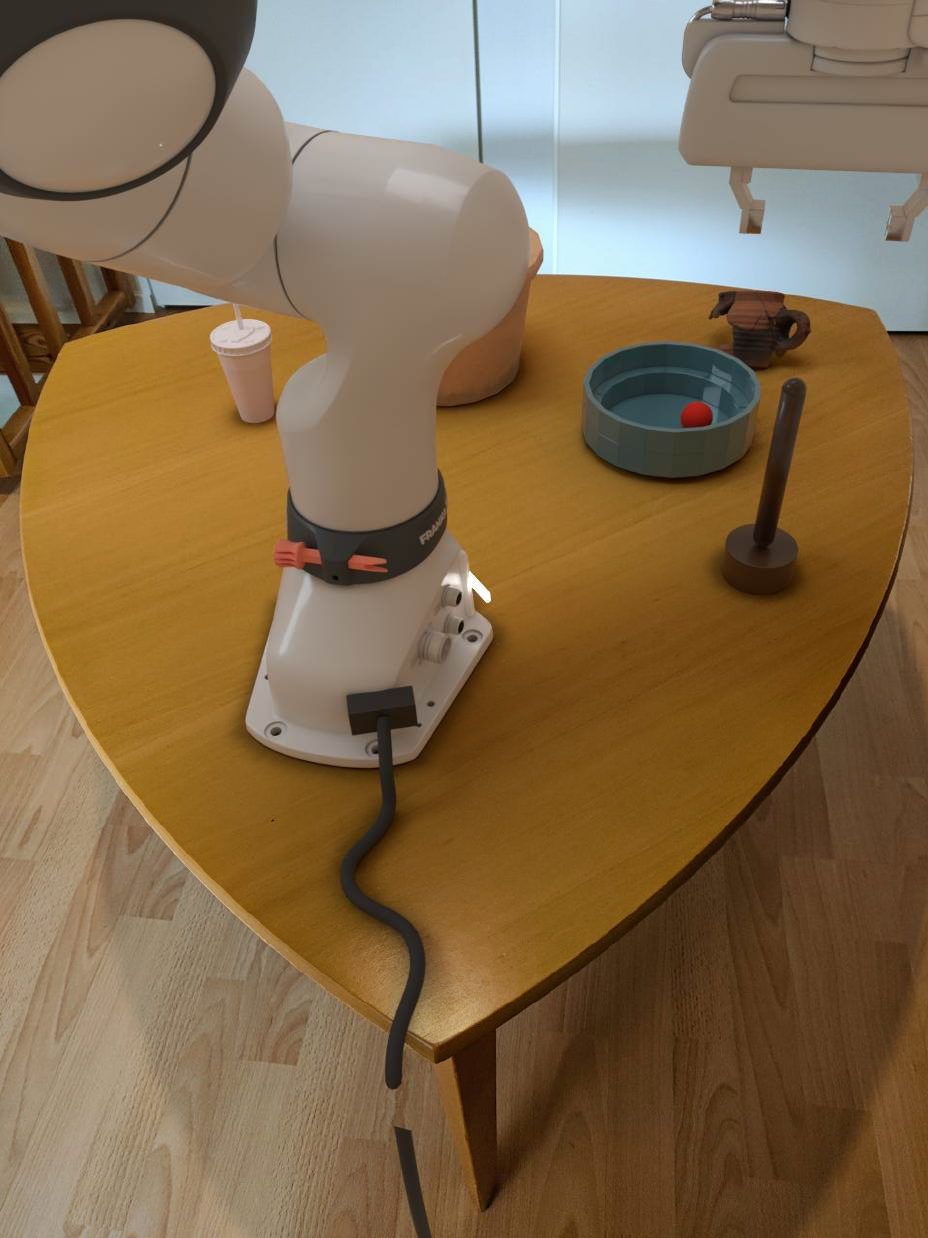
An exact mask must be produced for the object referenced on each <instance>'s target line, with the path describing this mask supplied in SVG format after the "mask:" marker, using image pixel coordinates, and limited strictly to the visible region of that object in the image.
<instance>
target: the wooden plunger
mask: <svg viewBox="0 0 928 1238" xmlns="http://www.w3.org/2000/svg"><path fill="white" fill-rule="evenodd" d="M807 392H808V387H807V383H806V381H804V379H803V378H801V377H797V376H794V377H790V378H788V379H787V380H785V381H784V382H783V384H782V386H781V391H780V396H779V401H778V406H777V411H776V415H775V419H774V420H775V421H774V424H773V431H772V436H771V441H770V446H769V451H768V456H767V461H766V466H765V472H764V476H763V482H762V487H761V490H760V491H761V492H760V497H759V501H758V506H757V507H758V508H757V511H756V512H757V513H756V517H755V521H754V522H755V523H748V524H742V525H739V526H737V527H736V528H734V529H732V530H731V531H730V532H729V533H728V534H727V536H726V539H725V542H724V549H723V555H722V560H721V567H720V569H721V574H722V576H723V578H724V580H725V581H726V582H727V583H728V584H729V585H731V586H732V587H733V588H734V589H737V590H738V591H741V592H743V593H747V594H752V595H758V596H759V595H760V596H761V595H765V596H766V595H772V594H777V593H779V592H781V591H783V590H785V589H786V588H787V587H788V586H789V585H790V584H791V582H792V579H793V575H794V571H795V567H796V564H797V559H798V554H799V546H798V543H797V541H796V539H795V538H794V537H793V536H792V535H791V534H790V533H789V532H788V531H786V530H783V528H780V527H778V524H779V521H780V516H781V511H782V507H783V501H784V497H785V492H786V487H787V484H788V479H789V474H790V470H791V465H792V460H793V456H794V451H795V446H796V442H797V438H798V432H799V428H800V424H801V419H802V414H803V410H804V406H805V401H806V397H807V396H806V395H807Z"/></svg>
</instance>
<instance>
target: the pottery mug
mask: <svg viewBox="0 0 928 1238" xmlns="http://www.w3.org/2000/svg"><path fill="white" fill-rule="evenodd" d="M785 298H786V295H785V294H784V293H783V292H780V291H772V290H756V289H755V290H727V291H721V292H719V293H718V302H717V303H716V304H715V306H714V307H713V308H712V310H711V311H710V314H709V316H708V320H712V319H718V318H719V317H721V316H722V317H723V316H726V322H727V323H728V325H730V326H731V329H732V338H733V342H731V343H723V344H722V343H720V344H718V345H717V349H718V350H720V351H723V352H725V353H727V354H729V355H732V356H734V357H736V358H738V359H740V360H741V361H742V362H743V363H745V364H746V365H747V366H748V367H750V368H760V369H761V368H763V369H764V368H765V369H767V368H769V366H770V362H771V359H772V357H773V354H774V352H775V355H776V357H778V358H782V357H783V356H784V355H785V354H786V353H787V352H788V351H792V350H795V349H798V348H799V347H800V346H801V345H803V344H804V343H805V342H806V340H807V338H808V337H809V335H810V334H811V332H812V329H811V319H810V317H809V316H808V314H807V313H805V312H804V311H802V310H798V309H788V308H787V306H786V305H785ZM795 324H796V330H795V332H794V333H793V335H791V336H790V333H791V330H792V327H793V325H795Z"/></svg>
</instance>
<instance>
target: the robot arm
mask: <svg viewBox="0 0 928 1238" xmlns="http://www.w3.org/2000/svg"><path fill="white" fill-rule="evenodd" d="M258 3H259V2H258V0H0V236H1V237H3V238H7V239H9V240H12V241H14V242H19V243H21V244H23V245H26V246H29V247H32V248H35V249H38V250H41V251H43V252H47V253H51V254H54V255H57V256H61V257H64V258H67V259H72V260H75V261H79V262H82V263H87V264H91V265H95V266H98V267H101V268H105V269H110V270H114V271H118V272H122V273H125V274H129V275H133V276H136V277H140V278H145V279H149V280H152V281H156V282H160V283H164V284H168V285H172V286H174V287H175V286H176V287H179V288H183V289H187V290H189V291H192V292H194V293H197V294H199V295H203V296H206V297H210V298H213V299H215V300H219V301H223V302H226V303H230V304H232V305H233V304H237V305H239V306H241V307H245V308H246V307H248V308H251V309H254V310H255V309H256V310H260V311H265V312H269V313H274V314H278V315H284V316H288V317H292V318H297V319H301V320H306V321H311V322H314V323H316V324H317V325H318V327H319V328H320V330H321V332H322V334H323V337H324V340H325V346H326V347H325V348H326V352H325V353H323V354H321V355H319V356H317V357H315V358H313V359H311V360H310V361H308V362H306V363H305V364H303V365H302V366H301V367H299V368H298V369H297V370H296V371H295V372H294V373H293V374H292V375H291V376H290V377H289V379H288V381H287V382H286V383H285V386H284V387H283V390H282V392H281V394H280V397H279V399H278V402H277V406H276V411H275V423H276V426H277V431H278V437H279V442H280V447H281V452H282V457H283V460H284V462H283V463H284V467H285V472H286V477H287V482H288V490H287V493H286V508H285V527H286V531H287V533H286V534H287V535H286V539H285V538H280V539H278V540H277V541H276V543H275V546H274V548H273V550H274V551H273V563H274V565H275V566H276V567H278V568H282V574H281V579H280V583H279V588H278V593H277V596H276V597H277V598H276V603H275V608H274V613H273V618H272V622H271V626H270V629H269V633H268V636H267V640H266V643H265V646H264V650H263V653H262V657H261V660H260V664H259V667H258V671H257V675H256V679H255V681H254V685H253V689H252V693H251V696H250V700H249V703H248V707H247V711H246V715H245V719H244V720H245V721H244V722H245V729H246V731H247V732H248V734H250V736H252V738H254V739H255V740H256V741H257V742H259V743H260V744H262V745H263V746H265V747H267V748H268V749H271V750H273V751H274V752H276V753H277V752H278V753H280V754H283V755H285V756H289V757H292V758H294V759H297V760H298V759H299V760H302V761H307V762H311V763H316V764H322V765H327V766H334V767H341V768H342V767H343V768H353V769H355V768H357V769H373V768H374V769H375V768H378V770H379V772H378V774H379V781H380V789H381V797H382V800H381V807H380V811H379V814H378V817H377V818H376V820H375V822H374V823H373V825H372V826H371V827H370V828H369V830H368V831H367V832H366V833H365V834H364V835H363V836H362V837H361V838H360V839H359V840H358V841H356V842H355V844H353V845H352V847H351V848H350V849H349V850H348V851H347V853H346V854H345V856H344V857H343V859H342V862H341V865H340V870H339V871H340V872H339V876H340V877H339V878H340V879H339V880H340V885H341V889H342V892H343V893H344V895H345V897H346V898H347V900H348V901H349V902H350V903H351V904H352V905H353V906H355V907H356V908H357V909H359V910H360V911H362V912H364V914H366V915H369V916H371V917H372V918H375V919H376V920H378V921H380V922H381V923H384V924H385V925H387V926H388V927H390V928H392V929H393V930H395V932H397V933H398V934H399V935H400V936H401V938H402V939H403V940H404V943H405V945H406V947H407V951H408V955H409V972H408V975H407V980H406V983H405V987H404V989H403V991H402V995H401V997H400V1000H399V1003H398V1005H397V1008H396V1010H395V1014H394V1016H393V1020H392V1022H391V1026H390V1029H389V1034H388V1037H387V1043H386V1050H385V1060H384V1061H385V1063H384V1082H385V1085H386V1087H387V1088H388V1089H389V1090H391V1091H393V1090H398V1089H399V1088H400V1086H401V1085H402V1082H403V1059H404V1049H405V1043H406V1038H407V1034H408V1031H409V1026H410V1024H411V1021H412V1018H413V1015H414V1013H415V1010H416V1008H417V1004H418V1001H419V999H420V996H421V993H422V990H423V986H424V981H425V976H426V952H425V947H424V944H423V940H422V938H421V935H420V933H419V931H418V930H417V928H416V927H415V926H414V925H413V923H412V922H411V921H410V920H409V919H407V918H406V917H405V916H404V915H402V914H401V913H399V912H398V911H396V910H395V909H393V908H391V907H389V906H387V905H385V904H383V903H381V902H379V901H377V900H375V899H373V898H372V897H370V896H369V895H367V894H366V893H365V892H363V890H362V889H361V888H360V887H359V885H358V884H357V881H356V877H355V876H356V875H355V874H356V873H355V872H356V868H357V866H358V864H359V863H360V862H361V860H362V858H363V857H364V856H365V855H366V854H367V853H368V852H369V851H370V850H371V849H373V847H374V846H375V845H377V843H378V842H379V841H380V840H381V839H382V837H383V836H385V834H386V832H387V831H388V829H389V828H390V826H391V824H392V822H393V819H394V816H395V813H396V808H397V789H396V783H395V776H394V775H395V774H394V766H396V765H401V764H404V763H408V762H411V761H413V760H415V759H416V758H417V757H418V756H419V755H420V754H421V752H422V751H423V749H424V748H425V746H426V745H427V743H428V742H429V740H430V738H432V736H433V734H434V732H435V731H436V729H437V727H438V726H439V725H440V723H441V721H442V720H443V718H444V717H445V715H446V713H447V712H448V710H449V709H450V707H451V706H452V704H453V703H454V701H455V699H456V698H457V696H458V694H459V693H460V692H461V690H462V688H463V687H464V685H465V684H466V682H467V681H468V679H469V678H470V676H471V675H472V672H473V671H474V669H475V668H476V666H477V665H478V664H479V662H480V661H481V659H482V657H483V655H484V654H485V653H486V651H487V649H488V648H489V646H490V645H491V643H492V641H493V639H494V630H493V625H492V624H491V622H490V621H489V620H488V619H487V618H486V617H484V615H482V614H481V613H479V612H478V611H477V610H476V609H475V599H474V594H473V589H474V590H475V592H476V593H477V594H478V595H479V596H480V597H481V598H482V599H483V600H484V601H485V602H486V603H490V602H491V593H490V591H489V590H487V588H486V587H485V586H484V585H483V584H482V583H481V582H480V581H479V580H478V579H477V578H476V576H475V575H473V573H472V572H471V571H470V564H469V557H468V554H467V552H466V551H465V549H464V547H462V545H461V544H460V543H459V542H458V541H457V539H456V538H455V536H454V535H453V534H452V532H451V531H450V529H449V528H448V508H449V507H448V505H449V503H448V493H447V488H446V487H445V479H444V476H443V474H442V472H441V470H440V468H439V467H438V451H437V450H438V449H437V406H436V402H437V394H438V390H439V386H440V383H441V380H442V377H443V375H444V373H445V371H446V369H447V367H448V366H449V364H450V363H451V361H452V360H453V359H454V358H455V356H456V355H457V354H458V353H459V352H460V351H461V350H463V349H464V348H465V347H466V346H467V345H469V344H471V343H472V342H474V341H476V340H478V339H480V338H482V337H483V336H485V335H486V334H487V333H489V332H490V331H491V330H492V329H493V328H495V327H496V326H497V325H498V324H499V323H500V322H501V321H502V320H503V318H504V317H505V316H506V315H507V313H508V312H509V311H510V309H511V308H512V307H513V305H514V303H515V301H516V300H517V298H518V296H519V294H520V292H521V290H522V287H523V284H524V281H525V278H526V275H527V270H528V265H529V258H530V232H529V227H530V224H529V220H528V217H527V213H526V209H525V206H524V204H523V200H522V199H521V196H520V194H519V192H518V190H517V189H516V187H515V184H514V183H513V181H512V180H511V179H510V177H509V176H508V175H507V174H506V173H504V172H503V171H502V170H499V169H497V168H494V167H493V166H490V165H488V164H485V163H483V162H480V161H478V160H475V159H473V158H471V157H468V156H465V155H463V154H460V153H458V152H455V151H453V150H450V149H447V148H444V147H442V146H439V145H437V144H433V143H424V142H416V141H411V140H410V141H409V140H403V139H402V140H401V139H395V138H387V137H379V136H373V135H364V134H356V133H349V132H341V131H337V130H332V129H325V128H320V127H314V126H308V125H305V124H299V123H296V122H295V123H294V122H291V121H286V120H285V118H284V116H283V113H282V110H281V108H280V106H279V104H278V101H277V100H276V98H275V97H274V95H273V94H272V92H271V90H270V89H269V88H268V87H267V86H266V84H265V83H264V81H262V80H261V79H260V78H259V77H258V76H257V75H256V74H255V73H254V72H253V71H252V70H250V69H248V68H247V67H245V64H246V63H247V59H248V56H249V54H250V51H251V48H252V45H253V40H254V38H255V30H256V26H257V16H258V15H257V14H258ZM707 15H710V18H708V17H707V18H706V17H705V16H707ZM703 17H705V18H703ZM683 31H684V32H683V37H682V38H683V39H682V40H683V41H682V48H681V49H682V50H681V65H682V68H683V71H684V73H685V74H686V76H687V77H688V78H689V84H688V85H689V86H688V89H687V92H686V93H687V94H686V97H685V103H684V106H683V112H682V117H681V122H680V123H681V124H680V127H679V128H680V129H679V136H678V143H677V150H678V152H679V154H680V156H681V157H682V159H683V160H684V161H685V163H686V164H687V165H689V166H695V167H696V166H697V167H699V166H700V167H726V168H730V171H729V172H730V173H729V180H728V184H729V187H730V189H731V191H732V194H733V195H734V198H735V200H736V203H737V204H738V207H739V209H740V210H741V214H740V219H739V229H738V234H742V235H747V234H748V235H749V234H750V235H761V234H762V228H763V221H764V216H765V211H766V207H765V206H766V200H764V199H754V197H753V194H752V193H751V190H750V187H749V185H748V184H750V183H751V181H752V176H753V169H754V168H755V169H777V170H781V169H782V170H802V171H803V170H805V171H807V170H808V171H829V172H831V171H832V172H833V171H835V172H836V171H837V172H860V173H888V174H915V175H916V176H915V177H916V184H917V188H916V189H915V190H914V192H913V193H912V194H911V195H910V196H909V197H908V199H907V200H906V201H905V202H904V203H903V205H890V206H889V208H888V213H887V221H886V222H885V225H884V231H883V236H884V241H885V242H901V243H902V242H906V243H909V241H910V239H911V236H912V231H913V228H914V223H915V220H916V218H918V217H919V216H921V214H922V213H923V212H924V211H925V210H926V208H928V0H712V2H711V5H707V6H704V7H702V8H700V9H698V10H697V11H696V12H694V14H693V15H692V16H691V17H690V18H689V20H688V22H687V23H686V25H685V28H684V30H683ZM376 752H377V753H376ZM393 1130H394V1136H395V1141H396V1148H397V1154H398V1160H399V1165H400V1169H401V1175H402V1179H403V1184H404V1185H403V1186H404V1189H405V1193H406V1199H407V1202H408V1203H407V1204H408V1207H409V1212H410V1215H411V1220H412V1223H413V1226H414V1229H415V1233H416V1237H417V1238H433V1237H432V1232H431V1227H430V1224H429V1219H428V1215H427V1210H426V1206H425V1201H424V1196H423V1191H422V1186H421V1181H420V1176H419V1169H418V1163H417V1157H416V1150H415V1145H414V1139H413V1133H412V1130H411V1129H408V1128H403V1127H399V1126H396V1125H393Z"/></svg>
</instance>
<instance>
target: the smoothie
mask: <svg viewBox="0 0 928 1238" xmlns="http://www.w3.org/2000/svg"><path fill="white" fill-rule="evenodd" d="M232 305H233V310H234V314H235V319H234V320H230V321H226V322H224V323H222V324H220V325H218V326H217V327H215V328H214V329H213V330H212V331H211V332H210V335H209V341H210V348H211V350H213V352H214V353H216V355H217V358H218V360H219V363H220V366H221V369H222V371H223V374H224V377H225V379H226V381H227V385H228V388H229V390H230V392H231V395H232V397H233V400H234V403H235V406H236V408H237V411H238V413H239V416H240V419H241V420H242V421H243V422H245V423H248V424H259V423H264V422H266V421H268V420H270V419H271V418H273V417H274V415H275V400H274V386H273V385H274V383H273V382H274V381H273V369H272V368H273V367H272V349H271V343H272V342H273V339H274V336H273V334H272V330H271V326H270V325H269V324H268V323H266V322H265V321H262V320H259V319H253V318H243V317H242V313H241V309H240V308H241V307H240V305H237V304H233V303H232Z"/></svg>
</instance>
